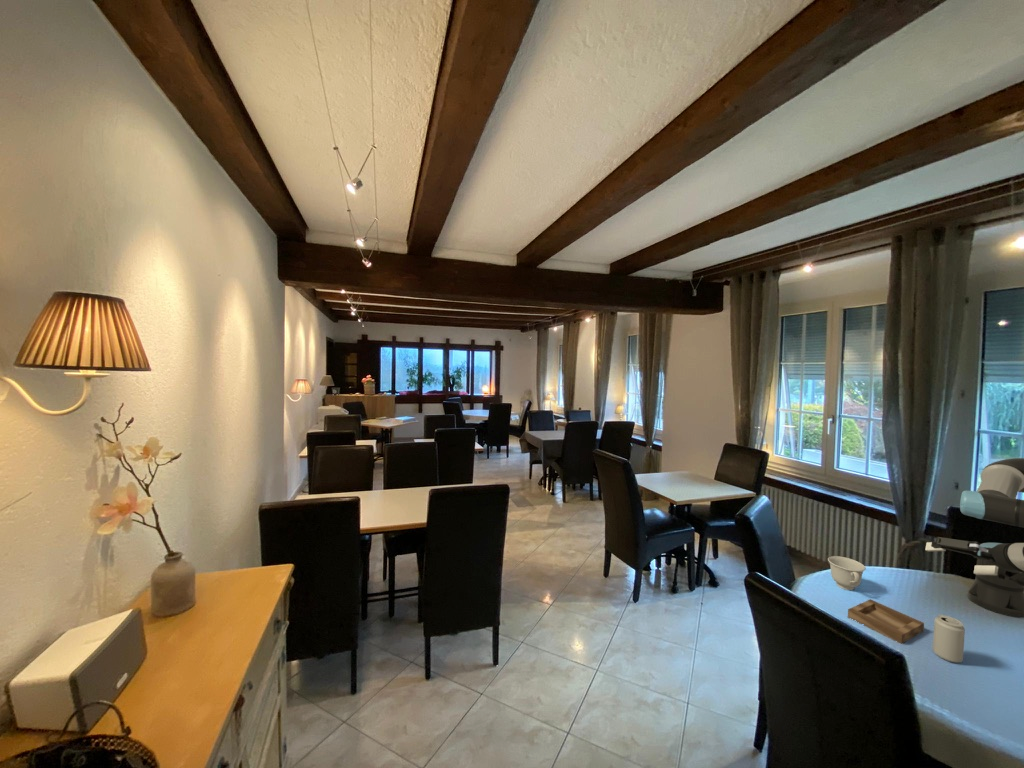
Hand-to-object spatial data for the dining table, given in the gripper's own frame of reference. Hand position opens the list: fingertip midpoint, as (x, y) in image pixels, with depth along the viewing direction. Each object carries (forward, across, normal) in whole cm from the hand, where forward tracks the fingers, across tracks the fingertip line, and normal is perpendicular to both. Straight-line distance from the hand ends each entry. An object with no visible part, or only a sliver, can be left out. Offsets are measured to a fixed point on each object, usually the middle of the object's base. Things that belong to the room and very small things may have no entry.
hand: (950, 558), depth 129 cm
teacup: (+41, -2, -14) cm, 43 cm away
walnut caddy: (+21, 0, -25) cm, 32 cm away
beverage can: (+7, +9, -28) cm, 30 cm away
